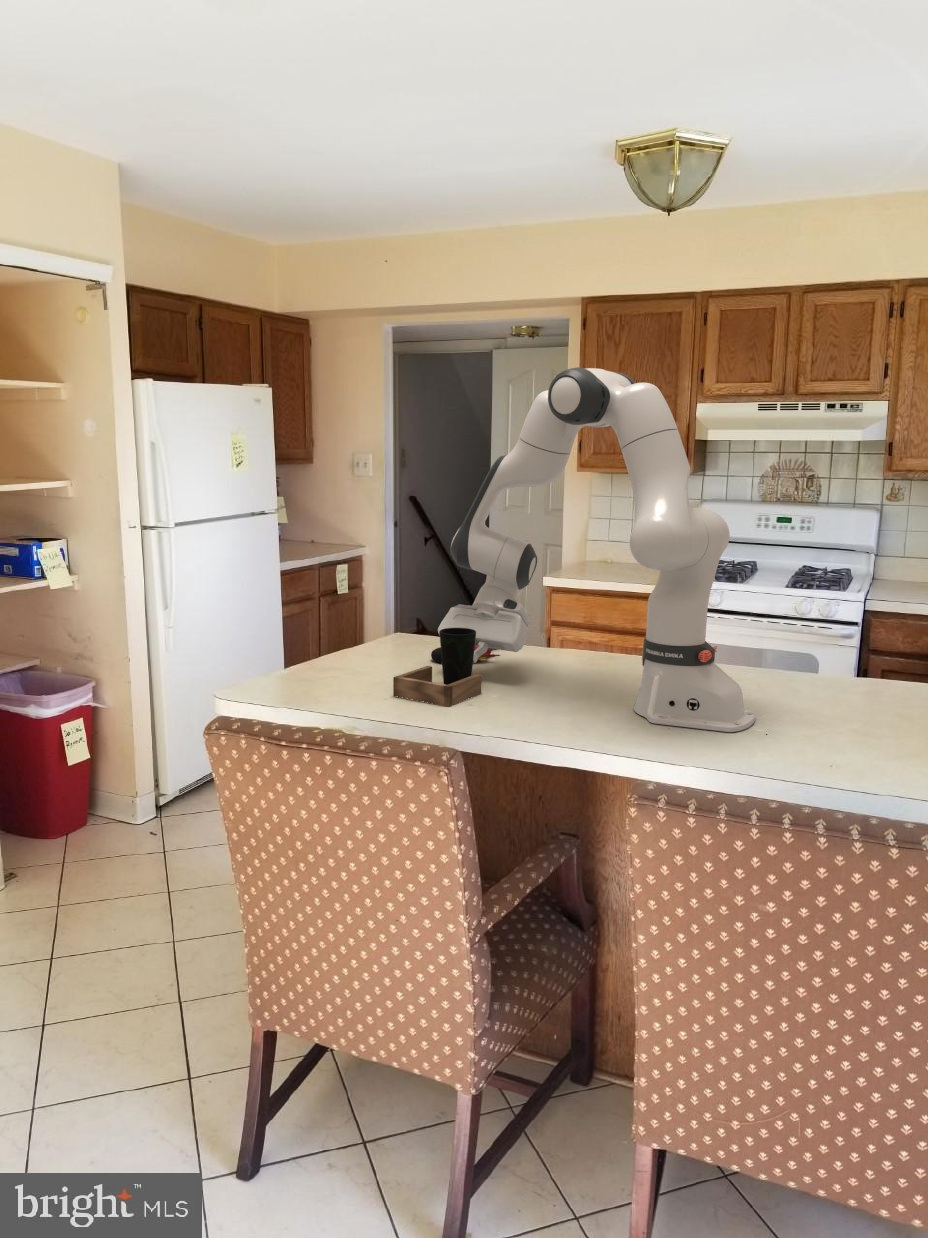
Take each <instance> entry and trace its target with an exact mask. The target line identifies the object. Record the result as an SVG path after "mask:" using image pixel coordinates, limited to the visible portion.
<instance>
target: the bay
mask: <svg viewBox="0 0 928 1238" xmlns="http://www.w3.org/2000/svg"><path fill="white" fill-rule="evenodd" d="M482 675H483V674H480V673H475V674H472V676H469V677H467V678H464V679H462V680H459V681H456V682H454V683H451V684H448V685H446V684H444V683H439V682H438V683H437V682H433V666H432V665H426V666H423V667H420V668H417V669H414V670H410V671H408V672H405V673H402V674H398V675H396V676H393V680H392V681H393V682H392V683H393V684H392V686H393V687H392V688H393V691H392V692H393V696H398V697H397V698H399V697H403V698H402V699H404V698H408V699H407V700H409V699H413V700H412V701H415V700H418V701H417V702H420V701H424V702H423V703H425V702H428V703H427V704H431V703H433V704H432V705H436V704H438V705H437V706H441V705H442V706H443V707H448V708H451V707H453V706H454V705H457V704H459V702H460V703H462V702H464V701H463V700H465V701H467V700H469V699H471V697H472V698H474V697H476V695H477V696H478V694H479V695H480V693H481V694H482V685H483V684H482ZM393 696H392V697H393ZM473 696H474V697H473ZM468 698H469V699H468ZM466 699H467V700H466ZM461 701H462V702H461ZM452 705H453V706H452Z"/></svg>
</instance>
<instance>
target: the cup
mask: <svg viewBox="0 0 928 1238" xmlns="http://www.w3.org/2000/svg"><path fill="white" fill-rule="evenodd" d="M439 633H440V635H439V642H440V647H441V657H442V663H441V666H442V678H443V684H446V685H448V684H451V683H454V682H456V681H459V680H462V679H464V678H467V677H469V676H472V675H473V666H474V663H473V657H474V648H475V639H476V631H475V630H473V629H468V628H445V629H442V630H440V631H439ZM439 633H438V634H439Z"/></svg>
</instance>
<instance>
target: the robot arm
mask: <svg viewBox="0 0 928 1238" xmlns="http://www.w3.org/2000/svg"><path fill="white" fill-rule="evenodd" d="M585 427H590V428H612V429H613V431H614V432H615V434H616V437H617V440H618V444H619V448H620V451H621V453H622V457H623V460H624V463H625V466H626V469H627V473H628V476H629V477H628V478H629V480H630V482H631V487H632V492H633V494H632V495H633V499H634V501H633V502H634V503H633V504H634V525H633V527H632V529H631V531H630V535H629V549H630V552H631V554H632V556H633V558H634V559H635V560H636V562H637V563H639V564H640V565H641V566H642V567H645V568H648V569H651V570H656V571H659V572H660V573H659V576H658V578H657V581H656V584H655V586H654V587H653V589H652V591H651V593H650V594H649V596H648V599H647V607H646V608H647V611H646V612H647V613H646V629H645V632H646V633H645V637H644V639H643V644H642V648H641V649H642V651H641V658H642V659H641V661H642V664H641V665H642V667H643V669H642V675H641V682H640V686H639V690H638V694H637V698H636V700H635V703H634V706H633V711H634V712H635V714H636V713H637V714H638V715H640V716H642V717H644V718H645V719H647V721H648V722H649V723H651V724H655V725H656V724H657V725H663V726H664V725H666V726H673V727H681V728H682V727H683V728H690V729H691V728H692V729H699V730H700V729H701V730H709V731H717V732H725V733H734V732H740V731H743V730H746V729H748V728H750V727H751V726H752V725H753V724H754V723H755V721H756V714H755V711H753V710H751V709H747V708H744V707H745V704H744V695H743V692H742V688H741V686H740V684H739V683H738V682H737V681H736V680H734V679H733V678H732V677H731V676H729V675H728V674H727V673H726V672H725V671H724V670H723V669H722V668H721V667H719V666H718V664H716V662H715V659H716V653H717V652H718V651H717V649H718V647H717V646H716V645H714V646H712V645H711V644H709V642H708V641H707V640H706V634H707V633H706V632H707V622H708V621H707V620H708V608H709V600H710V597H711V596H710V595H711V591H712V588H713V584H714V580H715V576H716V573H717V570H718V566H719V563H720V560H721V557H722V555H723V554H724V553H725V550H726V549H727V547H728V545H729V542H730V529H729V526H728V523H727V522H726V521H725V519H724V518H723V517H722V516H721V515H720V514H718V513H716V512H715V511H712V510H709V509H706V508H704V507H703V508H702V507H691V506H690V503H689V502H690V501H689V495H688V494H689V493H688V491H689V490H688V483H689V481H688V480H689V478H690V476H691V466H690V463H689V459H688V456H687V454H686V450H685V447H684V444H683V441H682V438H681V435H680V431H679V429H678V426H677V423H676V420H675V419H674V415H673V413H672V410H671V408H670V406H669V405H668V403H667V400H666V398H665V397H664V395H663V394H662V392H661V390H660V389H659V387H657V386H656V385H655V384H652V383H649V382H636V381H635V380H634V379H632V378H631V377H630V376H628V375H626V374H624V373H621V372H618V371H617V372H615V371H610V370H606V369H602V368H595V367H594V368H593V367H590V368H589V367H587V368H584V367H571V368H568V369H565V370H563V371H561V372H559V373H558V374H557V375H555V377H554V378H553V379H552V380H551V383H550V384H549V387H548V390H547V389H546V390H543V391H541V392H540V393H538V395H537V396H536V397H535V398H534V401H533V402H532V404H531V406H530V408H529V411H528V412H527V414H526V417H525V419H524V422H523V425H522V426H521V430H520V433H519V436H518V440H517V442H516V444H515V446H514V447H513V448H512V450H511V451H510V452H509V453H508V454H506V455H505V454H504V455H501V456H499V457H498V458H497V459H496V460H495V461H494V462H493V464H492V466H491V467H490V468H489V470H488V473H487V474H486V477H484V480H483V482H482V484H481V485H480V487H479V489H478V492H477V494H476V496H475V498H474V499H473V502H472V503H471V505H470V508H469V510H468V512H467V514H466V516H465V518H464V520H463V522H462V523H461V525H460V527H458V529H457V531H456V533H455V535H453V538H452V541H451V544H450V549H449V551H450V555H451V557H452V559H453V561H454V562H455V564H456V565H457V567H460V568H463V569H465V570H466V569H467V570H470V571H476V572H478V573H481V574H484V575H486V579H485V583H484V584H483V585H482V586H481V587H480V588H479V590H478V593H477V595H476V597H475V599H474V601H473V603H472V605H469V604H468V605H466V604H457V605H455V606H452V607H450V609H449V610H448V612H447V613H446V614H445V616H444V617H443V619H442V621H441V622H440V624H439V626H438V628H437V633H438V635H439V636H440V633H439V631H440V630H442V629H445V628H468V629H473V630H475V631H476V639H475V646H479V647H478V648H477V649H476V650H475V651H474V657H473V664H475V663H477V662H478V658H479V657H480V656H481V655H483V654H484V653H485V652H486V651H487V649H488V648H491V649H494V650H499V651H504V652H513V653H518V652H519V651H521V650H522V649H523V647H524V645H525V643H526V640H527V637H528V634H529V629H528V627H529V626H530V625H531V622H532V621H531V618H530V616H529V613H528V611H527V610H526V608H525V607H524V606H523V604H522V603H521V602H519V601H518V600H519V599H518V598H519V596H520V595H521V594H522V593H523V592H524V590H525V588H526V587H527V586H529V584H530V583H531V580H532V578H533V575H534V573H535V571H536V569H537V566H538V556H537V554H536V551H535V548H534V546H533V545H532V544H531V543H529V542H528V541H525V540H523V539H520V538H518V537H515V536H512V535H509V534H506V533H503V532H501V531H497V530H495V529H491V528H489V527H488V526H487V525H486V522H487V521H486V520H487V518H488V517H489V515H490V513H491V511H492V509H493V507H494V505H495V503H496V501H497V499H498V497H499V495H500V494H501V493H502V492H503V491H504V490H508V489H513V488H514V489H515V488H535V487H543V486H546V485H549V484H551V483H553V482H554V481H556V480H557V479H558V478H559V477H561V476H562V474H563V472H564V470H565V468H566V466H567V465H568V464H567V463H568V460H569V458H570V455H571V453H572V449H573V445H574V443H575V439H576V437H577V435H578V433H579V432H580V430H582V428H585Z"/></svg>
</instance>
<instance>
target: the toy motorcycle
mask: <svg viewBox="0 0 928 1238" xmlns="http://www.w3.org/2000/svg"><path fill="white" fill-rule="evenodd" d="M478 647H479V646H475V648H474V651H475V650H476V649H477V648H478ZM492 651H493V650H492V648H488V649H487V651H486V652H485V653H484V654H483V655H481V656H480V657H479V658H478V660H482V659H483V660H484V659H489V658H496V657H499V656H501V654H495V653H493V654H492ZM430 658H431V659H432V660H433V661H434V662H436V663H438V662H439V664H442V657H441V646H440V647H437V648H434V649H433V650H432V651H431V652H430ZM478 660H477V661H478Z"/></svg>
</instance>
